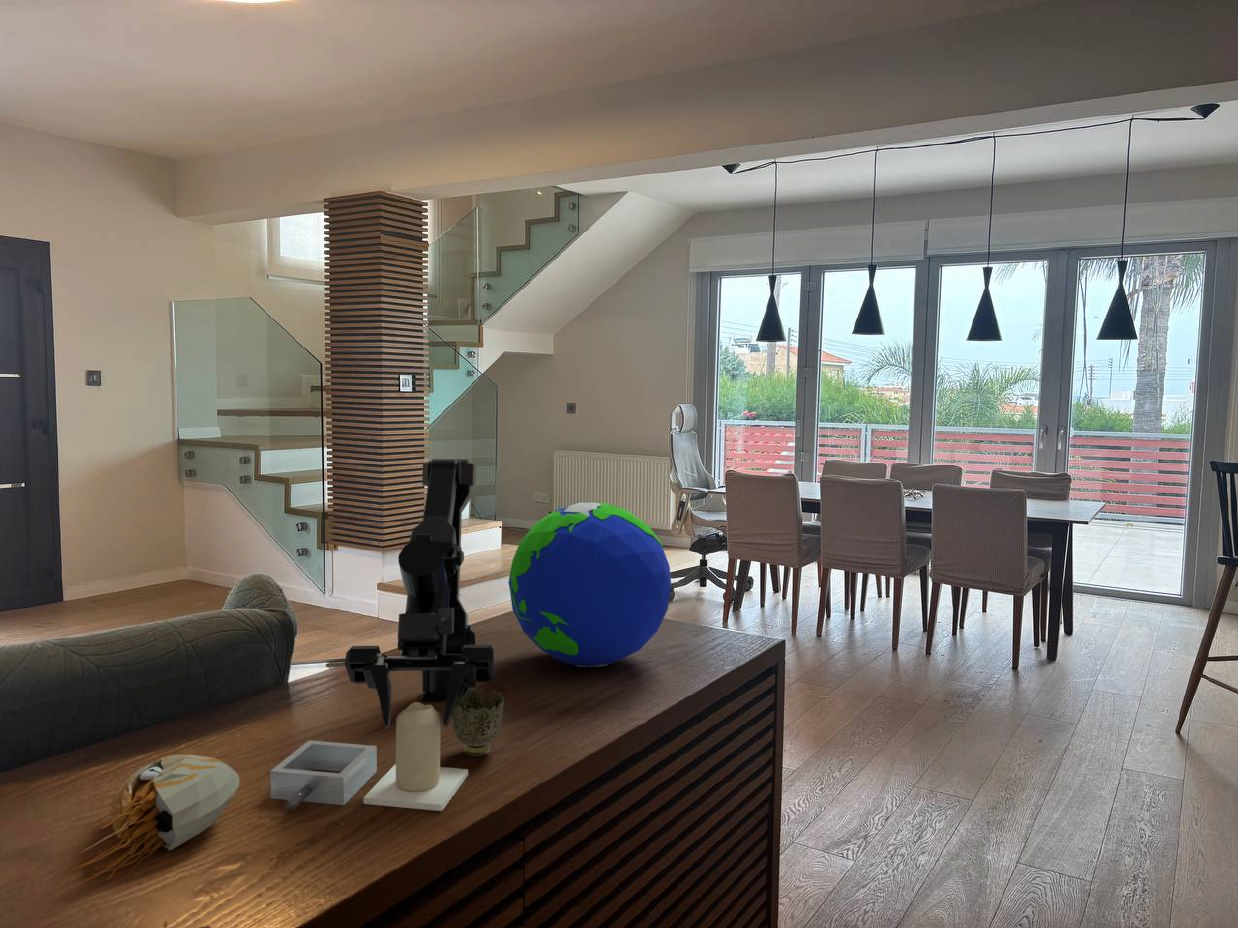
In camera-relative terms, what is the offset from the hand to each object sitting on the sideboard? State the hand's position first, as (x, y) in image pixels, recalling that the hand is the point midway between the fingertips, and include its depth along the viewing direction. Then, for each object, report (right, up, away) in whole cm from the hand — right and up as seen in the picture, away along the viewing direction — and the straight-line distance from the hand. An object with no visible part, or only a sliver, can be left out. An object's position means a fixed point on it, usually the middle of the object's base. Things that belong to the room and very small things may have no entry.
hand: (415, 726), depth 112 cm
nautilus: (-27, -10, -11) cm, 31 cm away
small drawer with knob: (-13, -9, +1) cm, 15 cm away
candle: (0, -8, +2) cm, 8 cm away
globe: (+20, -4, +53) cm, 57 cm away
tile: (0, -9, +2) cm, 9 cm away
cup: (+5, -8, +13) cm, 17 cm away
